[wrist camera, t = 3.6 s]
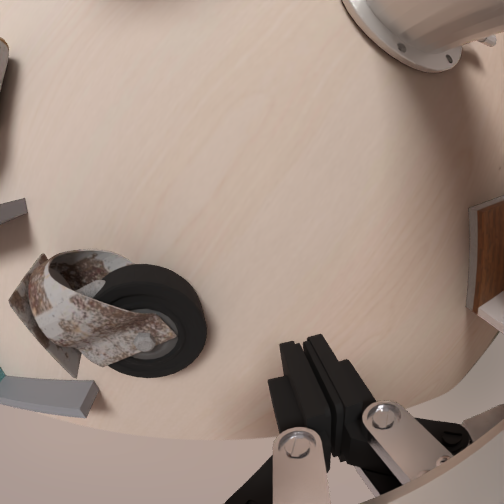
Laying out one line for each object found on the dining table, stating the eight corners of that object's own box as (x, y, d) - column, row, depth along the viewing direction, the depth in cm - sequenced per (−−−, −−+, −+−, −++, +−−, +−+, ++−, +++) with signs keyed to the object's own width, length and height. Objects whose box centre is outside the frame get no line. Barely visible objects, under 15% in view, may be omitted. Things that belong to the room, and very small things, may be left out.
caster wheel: (213, 315, 23) (115, 357, 22) (149, 191, 17) (38, 255, 16) (233, 374, 17) (112, 417, 16) (143, 223, 12) (2, 305, 10)
